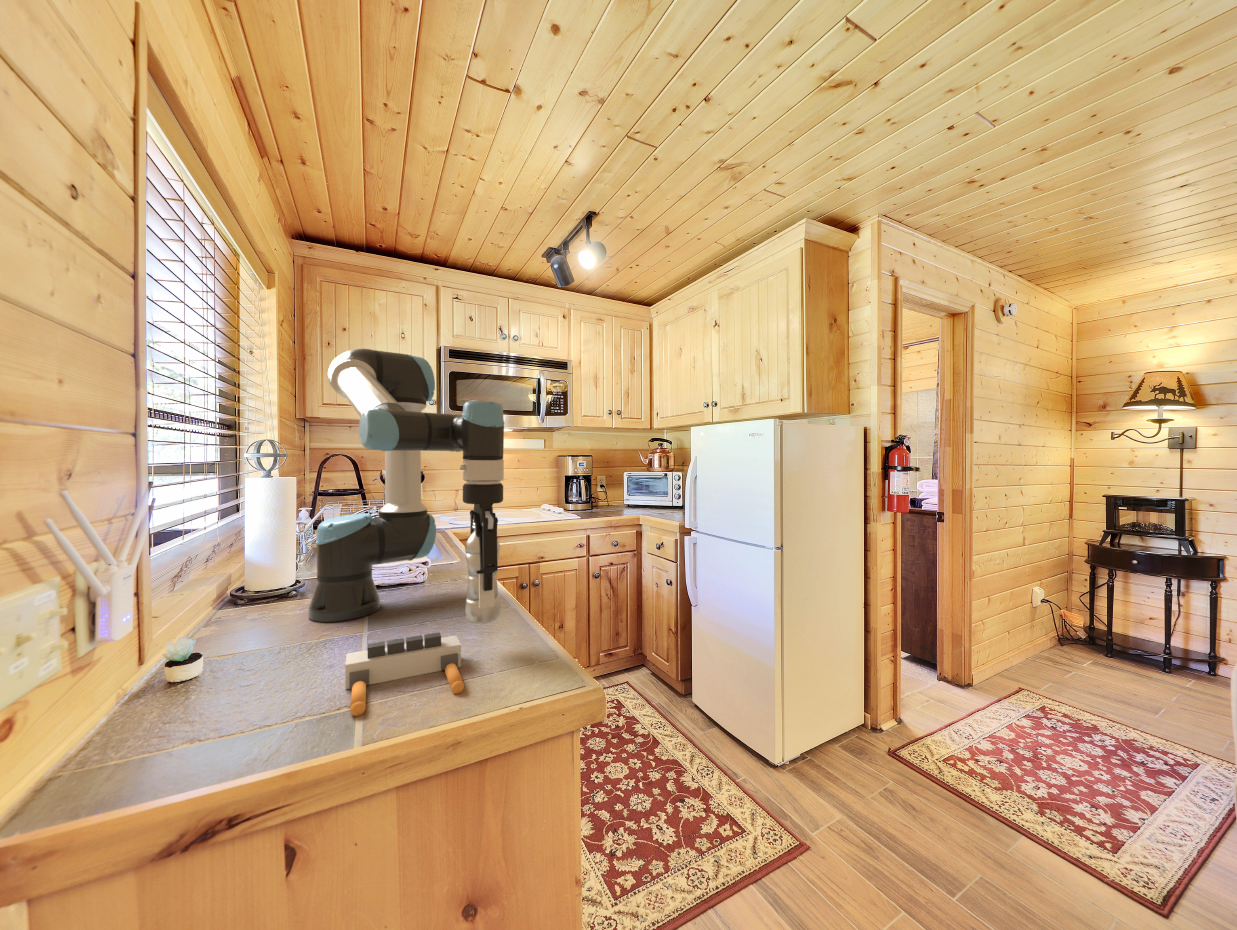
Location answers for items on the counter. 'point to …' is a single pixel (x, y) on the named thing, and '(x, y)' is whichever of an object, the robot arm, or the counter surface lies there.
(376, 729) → the counter surface
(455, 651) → the breaker strip
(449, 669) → the cord
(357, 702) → the cord
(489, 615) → the plastic bottle
